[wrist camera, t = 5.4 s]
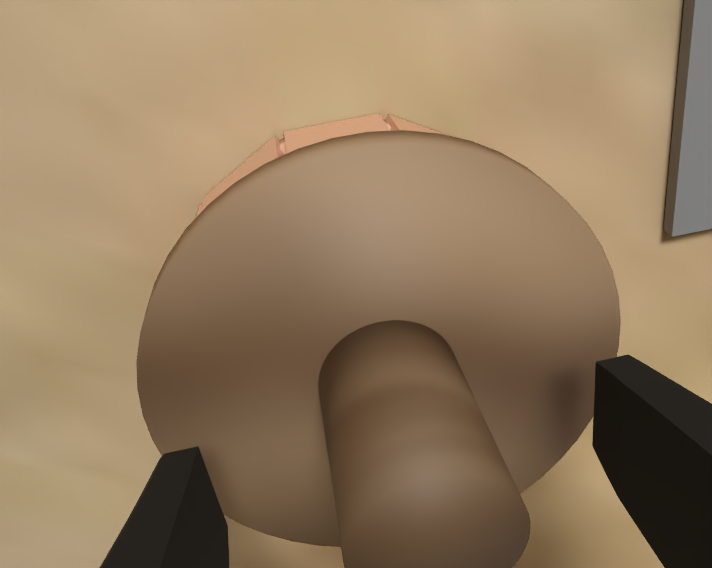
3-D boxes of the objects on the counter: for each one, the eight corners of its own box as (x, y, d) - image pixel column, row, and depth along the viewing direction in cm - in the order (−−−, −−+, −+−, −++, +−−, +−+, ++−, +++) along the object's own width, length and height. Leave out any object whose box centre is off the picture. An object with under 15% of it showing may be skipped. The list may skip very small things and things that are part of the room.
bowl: (532, 390, 19) (579, 470, 16) (231, 455, 19) (228, 548, 16) (525, 85, 15) (588, 123, 12) (132, 160, 14) (104, 218, 12)
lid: (578, 486, 17) (688, 675, 12) (193, 548, 16) (172, 773, 12) (630, 102, 12) (834, 202, 8) (84, 162, 11) (-15, 309, 7)
